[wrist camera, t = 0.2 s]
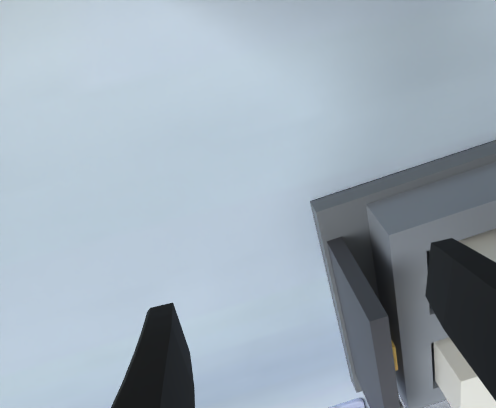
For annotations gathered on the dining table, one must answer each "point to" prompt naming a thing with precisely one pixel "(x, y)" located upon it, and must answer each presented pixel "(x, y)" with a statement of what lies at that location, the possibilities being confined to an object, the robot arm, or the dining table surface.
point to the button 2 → (459, 378)
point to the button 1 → (483, 243)
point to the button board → (399, 267)
